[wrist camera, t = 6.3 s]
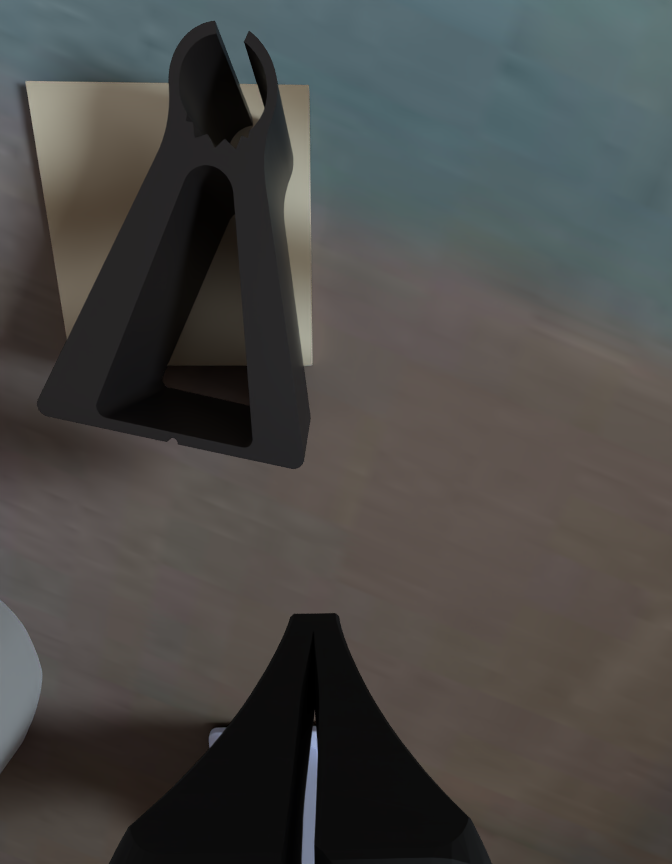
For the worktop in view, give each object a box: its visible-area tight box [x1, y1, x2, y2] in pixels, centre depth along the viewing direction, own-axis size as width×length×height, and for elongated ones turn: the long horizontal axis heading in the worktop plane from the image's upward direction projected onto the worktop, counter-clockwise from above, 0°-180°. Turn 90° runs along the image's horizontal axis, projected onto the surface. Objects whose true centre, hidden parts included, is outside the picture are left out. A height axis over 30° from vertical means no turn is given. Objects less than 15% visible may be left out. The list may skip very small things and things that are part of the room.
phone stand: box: [37, 21, 311, 469], centre depth 16 cm, size 9×6×12 cm
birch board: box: [25, 81, 312, 366], centre depth 19 cm, size 11×11×1 cm
